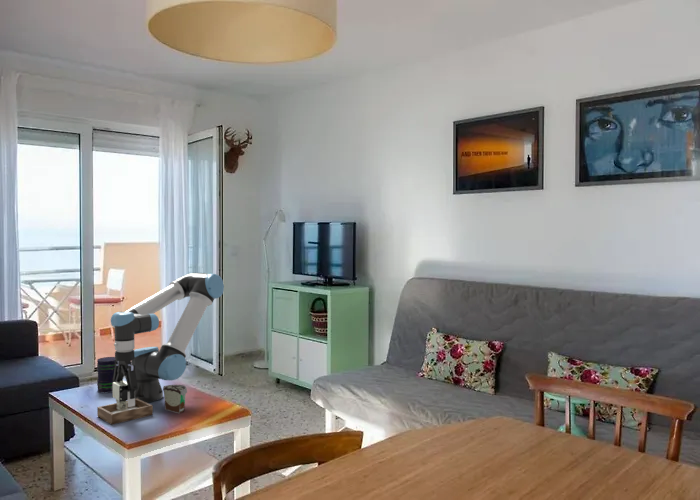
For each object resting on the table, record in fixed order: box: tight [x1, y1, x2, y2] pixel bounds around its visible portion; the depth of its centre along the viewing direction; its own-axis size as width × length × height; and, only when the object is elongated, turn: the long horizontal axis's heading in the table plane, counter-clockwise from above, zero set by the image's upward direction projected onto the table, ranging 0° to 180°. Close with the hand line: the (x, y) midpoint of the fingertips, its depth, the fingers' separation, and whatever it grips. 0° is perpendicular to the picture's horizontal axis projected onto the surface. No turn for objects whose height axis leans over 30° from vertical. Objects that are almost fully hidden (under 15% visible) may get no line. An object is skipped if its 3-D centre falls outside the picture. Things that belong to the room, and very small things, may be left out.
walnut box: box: [96, 399, 154, 425], centre depth 234 cm, size 17×14×4 cm
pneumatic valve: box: [111, 379, 129, 411], centre depth 234 cm, size 6×12×12 cm, turn 41°
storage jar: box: [96, 356, 116, 393], centre depth 273 cm, size 10×10×15 cm
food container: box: [162, 384, 188, 414], centre depth 243 cm, size 12×6×10 cm, turn 56°
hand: (125, 403), depth 234 cm, fingers closed on pneumatic valve, 11 cm apart
